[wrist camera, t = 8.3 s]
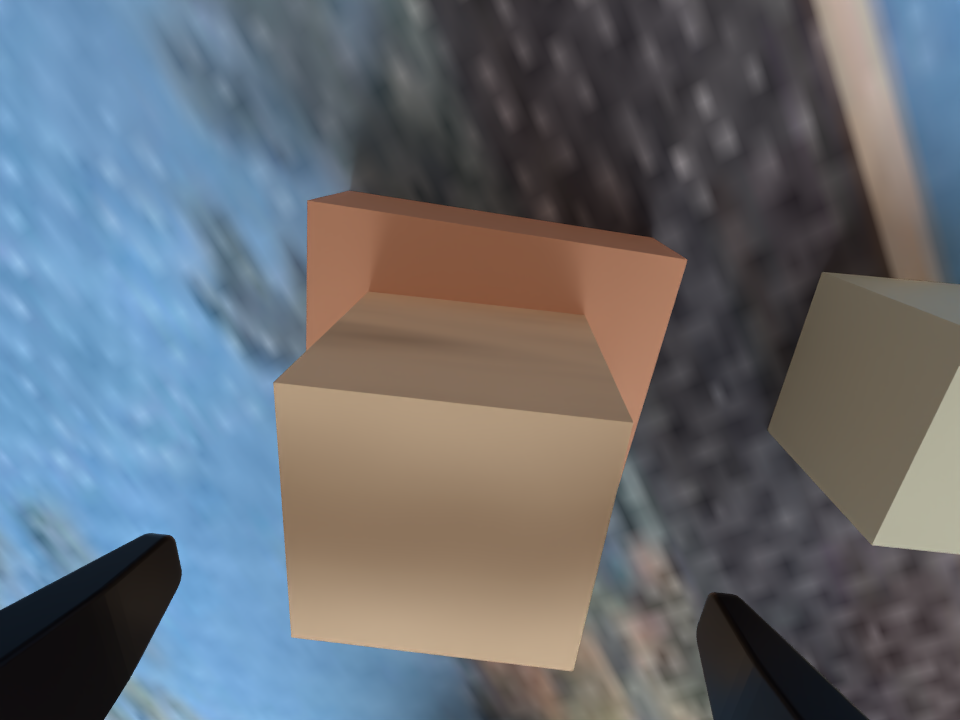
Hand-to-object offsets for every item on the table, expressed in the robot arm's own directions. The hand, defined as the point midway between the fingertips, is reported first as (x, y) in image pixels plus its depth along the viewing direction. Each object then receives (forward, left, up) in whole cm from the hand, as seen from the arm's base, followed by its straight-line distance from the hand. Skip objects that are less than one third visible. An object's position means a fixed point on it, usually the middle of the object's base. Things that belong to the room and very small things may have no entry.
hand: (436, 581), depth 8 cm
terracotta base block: (0, 0, -11) cm, 11 cm away
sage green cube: (+1, -14, -11) cm, 18 cm away
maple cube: (0, 0, -7) cm, 7 cm away
